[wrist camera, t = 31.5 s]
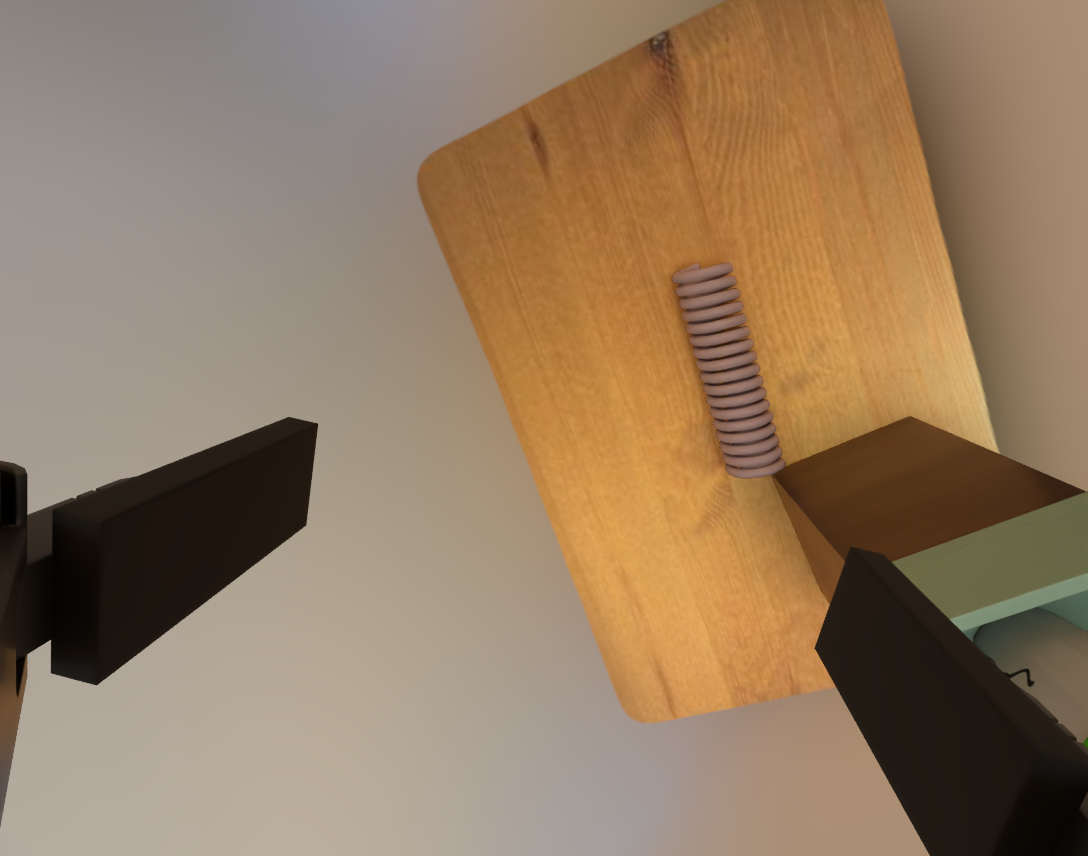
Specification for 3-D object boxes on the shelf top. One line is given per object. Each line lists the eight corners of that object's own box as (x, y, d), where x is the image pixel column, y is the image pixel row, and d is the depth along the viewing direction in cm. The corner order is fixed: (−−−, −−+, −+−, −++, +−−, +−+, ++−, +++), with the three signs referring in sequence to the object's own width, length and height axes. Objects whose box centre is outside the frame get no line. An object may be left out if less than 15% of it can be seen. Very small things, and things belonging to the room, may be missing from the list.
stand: (769, 472, 53) (859, 578, 34) (910, 415, 51) (1094, 494, 31) (820, 591, 55) (933, 756, 35) (959, 541, 52) (1161, 689, 33)
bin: (851, 575, 34) (901, 635, 28) (1098, 486, 31) (1210, 532, 25) (930, 762, 35) (991, 855, 30) (1169, 692, 33) (1287, 778, 27)
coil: (668, 272, 46) (731, 492, 49) (731, 251, 45) (792, 478, 48) (669, 271, 50) (727, 474, 54) (727, 252, 49) (782, 460, 52)
